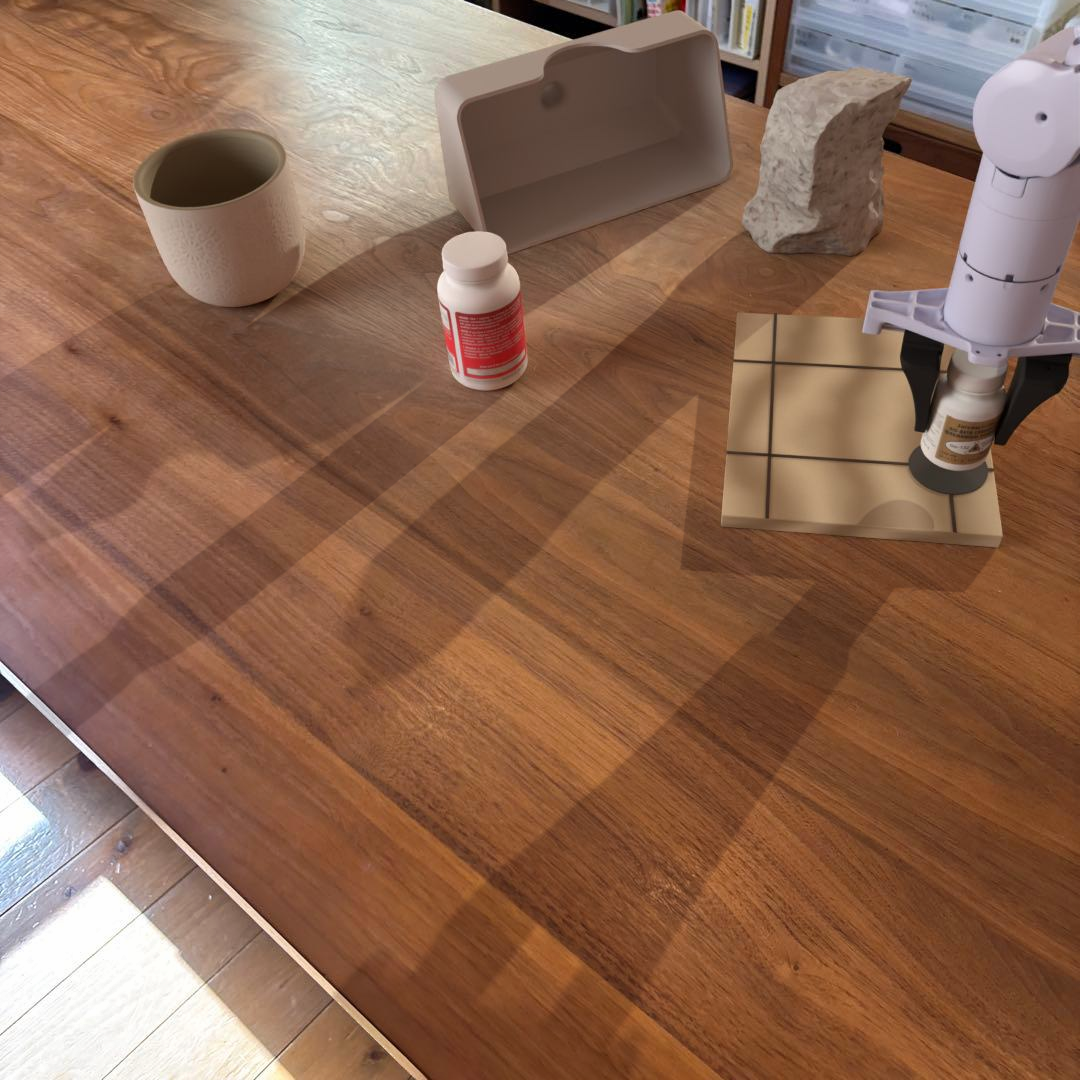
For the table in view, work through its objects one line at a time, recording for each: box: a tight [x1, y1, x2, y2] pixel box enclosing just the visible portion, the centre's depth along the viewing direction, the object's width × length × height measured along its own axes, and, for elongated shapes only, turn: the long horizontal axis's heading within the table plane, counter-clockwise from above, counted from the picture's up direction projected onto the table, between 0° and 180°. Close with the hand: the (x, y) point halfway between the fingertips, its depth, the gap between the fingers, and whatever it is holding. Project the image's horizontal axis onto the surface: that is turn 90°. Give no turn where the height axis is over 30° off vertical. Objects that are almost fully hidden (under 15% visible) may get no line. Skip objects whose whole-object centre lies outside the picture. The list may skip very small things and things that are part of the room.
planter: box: [132, 128, 306, 308], centre depth 94 cm, size 12×12×11 cm
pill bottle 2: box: [921, 349, 1009, 471], centre depth 72 cm, size 4×4×8 cm
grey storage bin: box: [433, 9, 734, 256], centre depth 101 cm, size 25×16×12 cm, turn 115°
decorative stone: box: [741, 66, 913, 257], centre depth 91 cm, size 10×9×15 cm
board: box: [720, 312, 1004, 549], centre depth 80 cm, size 18×22×1 cm
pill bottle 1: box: [436, 231, 528, 392], centre depth 84 cm, size 6×6×11 cm
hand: (959, 428), depth 73 cm, fingers closed on pill bottle 2, 4 cm apart
